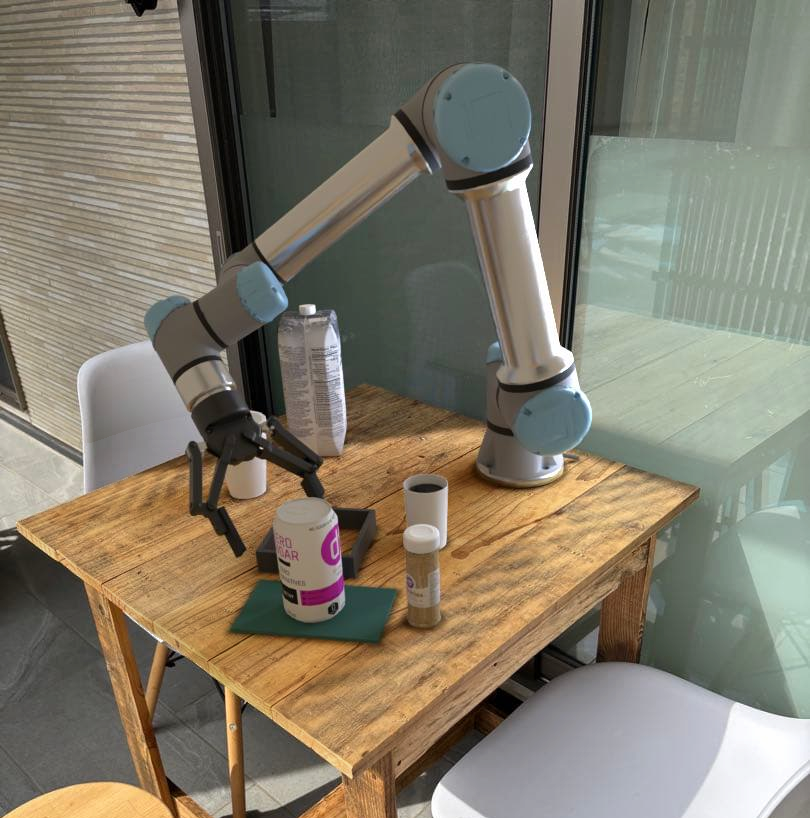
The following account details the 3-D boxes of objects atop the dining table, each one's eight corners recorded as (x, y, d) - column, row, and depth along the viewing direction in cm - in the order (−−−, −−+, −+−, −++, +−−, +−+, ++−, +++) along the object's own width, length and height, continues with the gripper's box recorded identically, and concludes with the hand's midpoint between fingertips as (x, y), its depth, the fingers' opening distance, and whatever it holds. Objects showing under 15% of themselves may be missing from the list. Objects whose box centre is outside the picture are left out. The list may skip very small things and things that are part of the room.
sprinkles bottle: (400, 621, 112) (395, 533, 105) (422, 606, 115) (418, 519, 108) (427, 634, 109) (423, 544, 103) (448, 617, 112) (446, 529, 106)
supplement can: (354, 595, 117) (346, 499, 109) (330, 630, 110) (319, 529, 103) (301, 587, 119) (289, 491, 112) (274, 620, 113) (260, 521, 105)
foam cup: (280, 478, 151) (271, 410, 145) (268, 503, 143) (258, 431, 137) (229, 478, 152) (217, 410, 146) (214, 502, 144) (201, 432, 138)
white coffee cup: (418, 557, 126) (416, 498, 121) (398, 538, 131) (395, 480, 126) (457, 545, 128) (456, 486, 123) (436, 527, 134) (434, 469, 129)
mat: (397, 592, 118) (396, 588, 118) (378, 644, 108) (378, 640, 108) (260, 582, 122) (260, 579, 122) (230, 632, 112) (229, 628, 111)
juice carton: (346, 458, 157) (333, 313, 144) (290, 460, 158) (272, 316, 144) (349, 439, 165) (337, 299, 152) (295, 441, 166) (279, 302, 152)
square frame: (376, 528, 134) (375, 509, 132) (355, 578, 122) (353, 557, 120) (288, 523, 137) (286, 504, 135) (258, 572, 124) (255, 551, 123)
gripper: (282, 392, 127) (350, 515, 124) (124, 440, 113) (196, 579, 111) (298, 366, 121) (369, 494, 118) (133, 413, 107) (209, 560, 105)
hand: (285, 536), depth 114 cm, fingers open, 13 cm apart
